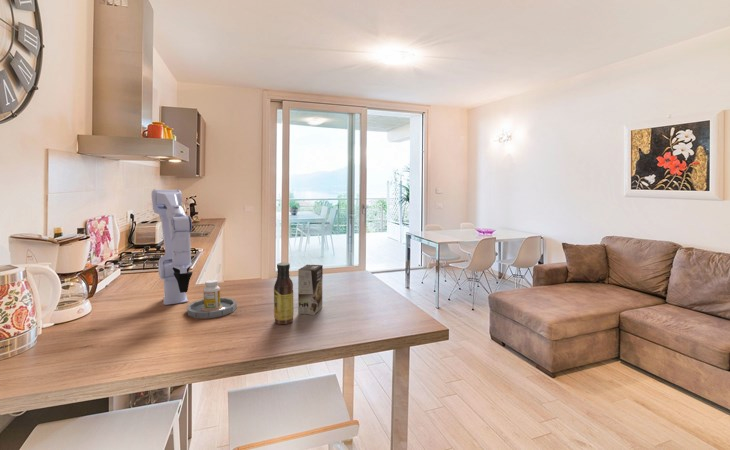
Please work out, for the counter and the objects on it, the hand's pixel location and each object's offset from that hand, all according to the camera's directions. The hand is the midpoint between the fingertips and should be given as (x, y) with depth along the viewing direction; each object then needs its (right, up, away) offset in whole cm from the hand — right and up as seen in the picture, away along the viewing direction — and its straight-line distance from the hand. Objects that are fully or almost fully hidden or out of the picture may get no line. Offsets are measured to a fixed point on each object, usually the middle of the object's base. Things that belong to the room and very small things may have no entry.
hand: (183, 289), depth 120 cm
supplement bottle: (+9, -8, +4) cm, 12 cm away
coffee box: (+44, -9, +5) cm, 45 cm away
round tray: (+9, -8, +4) cm, 12 cm away
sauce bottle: (+37, -10, -6) cm, 39 cm away
